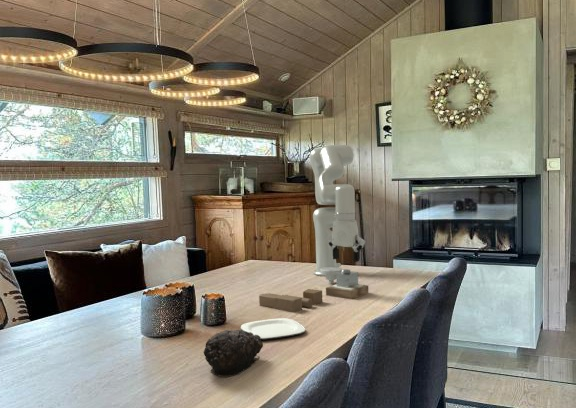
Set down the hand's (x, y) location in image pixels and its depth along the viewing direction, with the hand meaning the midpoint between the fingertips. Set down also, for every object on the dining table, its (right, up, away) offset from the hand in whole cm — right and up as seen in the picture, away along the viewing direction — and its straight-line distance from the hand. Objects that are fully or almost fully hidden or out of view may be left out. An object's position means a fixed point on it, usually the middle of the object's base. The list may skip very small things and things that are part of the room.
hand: (346, 260), depth 203 cm
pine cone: (-37, -19, -73) cm, 84 cm away
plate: (-28, -17, -45) cm, 56 cm away
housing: (+1, -10, 0) cm, 10 cm away
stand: (+1, -13, 0) cm, 13 cm away
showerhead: (-4, -13, +21) cm, 25 cm away
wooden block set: (-22, -16, -13) cm, 29 cm away
